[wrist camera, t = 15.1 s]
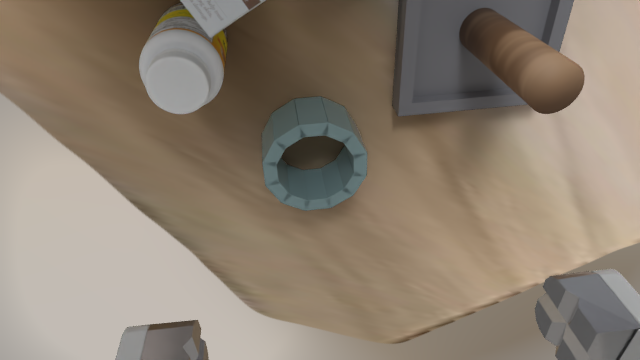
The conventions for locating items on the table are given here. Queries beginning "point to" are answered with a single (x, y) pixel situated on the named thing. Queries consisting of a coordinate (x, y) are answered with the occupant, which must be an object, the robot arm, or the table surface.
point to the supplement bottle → (182, 62)
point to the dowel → (522, 61)
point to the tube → (313, 184)
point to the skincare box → (218, 12)
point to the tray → (460, 53)
